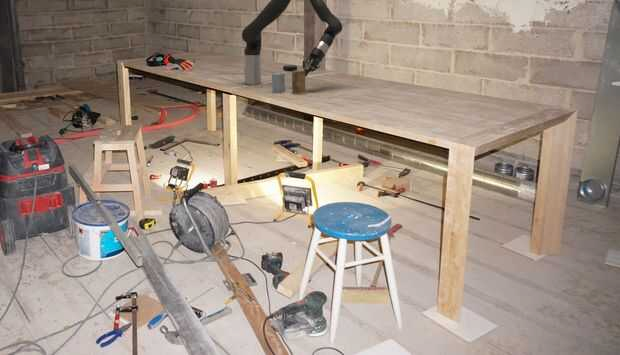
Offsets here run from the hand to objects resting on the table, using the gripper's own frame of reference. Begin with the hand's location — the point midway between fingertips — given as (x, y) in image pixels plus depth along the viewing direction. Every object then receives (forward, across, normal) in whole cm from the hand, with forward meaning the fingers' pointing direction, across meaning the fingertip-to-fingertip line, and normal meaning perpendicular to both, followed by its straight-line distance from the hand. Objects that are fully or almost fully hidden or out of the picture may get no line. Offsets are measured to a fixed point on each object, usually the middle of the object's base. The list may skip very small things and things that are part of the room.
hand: (303, 76), depth 302 cm
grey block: (+12, -11, 0) cm, 17 cm away
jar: (+2, -18, +11) cm, 21 cm away
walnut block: (+9, 0, +4) cm, 9 cm away
